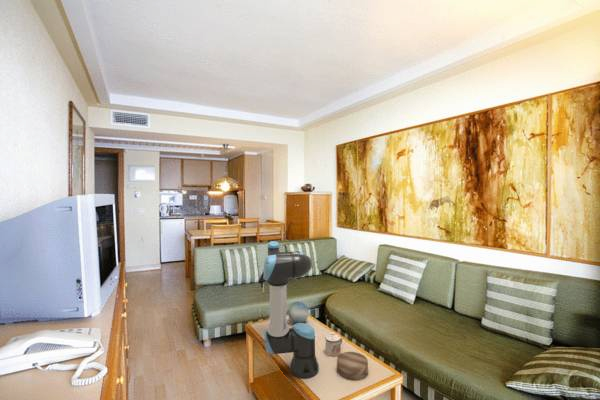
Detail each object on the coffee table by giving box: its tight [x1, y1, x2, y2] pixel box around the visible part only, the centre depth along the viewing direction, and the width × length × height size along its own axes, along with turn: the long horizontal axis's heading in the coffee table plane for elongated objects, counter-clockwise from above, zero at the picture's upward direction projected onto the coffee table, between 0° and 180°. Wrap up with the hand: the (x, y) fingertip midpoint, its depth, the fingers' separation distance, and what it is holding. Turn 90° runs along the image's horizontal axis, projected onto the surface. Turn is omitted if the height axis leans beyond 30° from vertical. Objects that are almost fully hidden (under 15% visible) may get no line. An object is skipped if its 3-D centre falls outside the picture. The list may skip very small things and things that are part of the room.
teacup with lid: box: [324, 331, 343, 357], centre depth 171 cm, size 12×9×12 cm
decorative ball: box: [287, 301, 309, 324], centre depth 211 cm, size 15×15×15 cm
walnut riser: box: [336, 351, 369, 381], centre depth 152 cm, size 16×16×6 cm
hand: (273, 290), depth 199 cm, fingers open, 13 cm apart
